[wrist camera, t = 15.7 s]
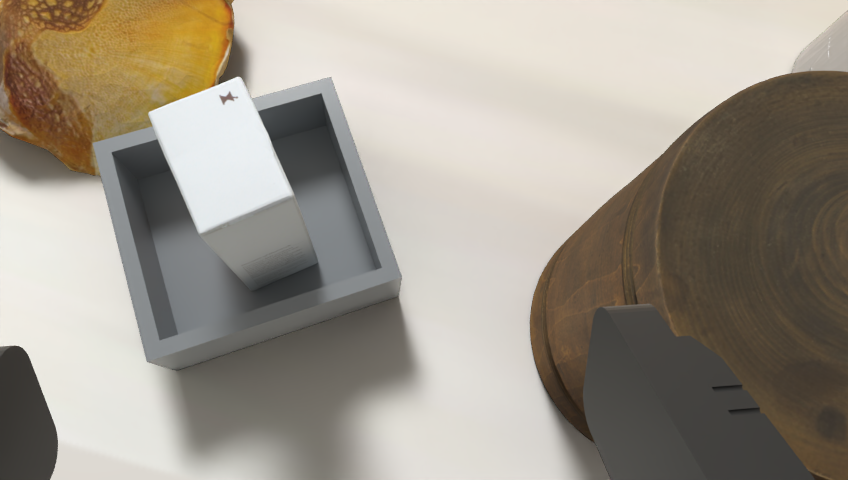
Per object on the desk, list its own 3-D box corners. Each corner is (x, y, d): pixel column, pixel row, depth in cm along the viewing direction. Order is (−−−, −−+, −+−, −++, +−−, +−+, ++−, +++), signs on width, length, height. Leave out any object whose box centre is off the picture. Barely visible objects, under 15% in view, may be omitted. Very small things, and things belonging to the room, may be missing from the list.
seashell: (273, -50, 40) (159, 148, 34) (269, 32, 47) (174, 211, 41) (-1, -166, 39) (-176, 19, 32) (36, -63, 45) (-102, 107, 39)
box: (336, 117, 42) (330, 76, 37) (398, 296, 39) (401, 277, 34) (126, 177, 40) (92, 143, 35) (176, 370, 37) (146, 361, 32)
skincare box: (211, 203, 39) (142, 107, 27) (280, 174, 40) (241, 70, 28) (250, 296, 38) (196, 237, 26) (321, 265, 38) (298, 194, 27)
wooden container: (598, 510, 37) (900, 617, 16) (488, 266, 40) (614, 83, 19) (820, 403, 39) (1339, 371, 18) (699, 181, 43) (1018, -63, 21)
